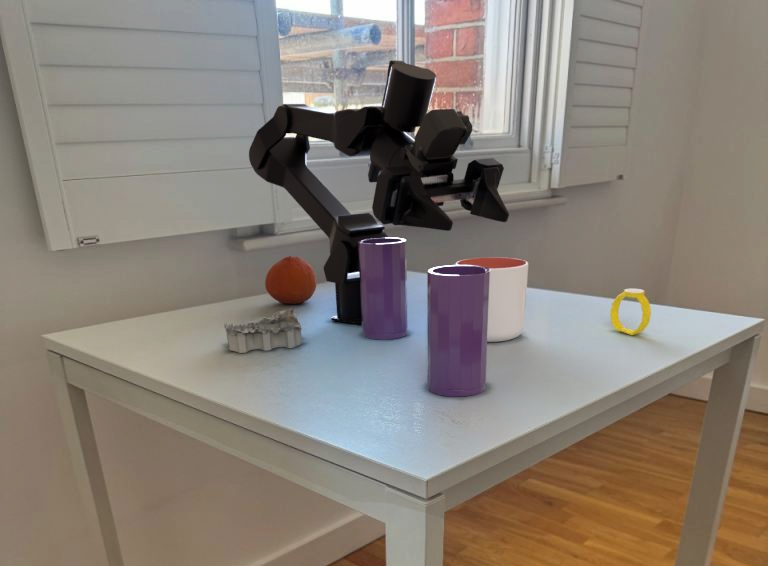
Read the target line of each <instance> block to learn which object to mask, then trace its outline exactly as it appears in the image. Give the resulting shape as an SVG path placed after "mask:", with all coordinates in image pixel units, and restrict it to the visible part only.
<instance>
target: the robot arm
mask: <svg viewBox="0 0 768 566" xmlns="http://www.w3.org/2000/svg"><path fill="white" fill-rule="evenodd" d="M436 80H437V75H436V73H435V72H434V71H433V70H431V69H429V68H423V67H420V66H417V65H414V64H410V63H409V64H408V63H406V62H405V61H403V60H389V62H388V67H387V75H386V82H385V86H384V93H383V97H382V101H381V105H369V106H363V107H361V108H346V109H340V110H331V109H326V108H321V107H314V106H309V105H307V104H306V103H282V104H281V105H278V106H277V108H276V109H275V111H274V114H273V116H272V117H271V118H270V119H269V120H268V121H267V122H265V124H263V126H261V127H260V128H259V129H258V130H257V131H256V133H255V136H254V138H253V141H252V142H251V144H250V147H249V150H248V160H249V164H250V165H251V166H250V167H252V169H253V171H254V172H255V174H256V175H257V176H258V177H260V178H261V179H262V180H264V181H265V182H266V183H269V184H272V185H275V186H277V187H281V188H283V189H284V190H285V191H286V192H287V193H288V194H289V195H290V196H291V197H292V198H293V200H294V201H295V202H296V203H297V204H298V205H299V206H300V208H302V210H303V211H304V212H305V213H306V214H307V215H308V216H309V218H310V219H311V220H312V221H313V222H314V223H315V224H316V225H317V226H318V227H319V228H320V230H321V231H322V232H323V233H324V235H326V237H327V238H328V240H329V256H328V257H327V259H326V262H325V263H324V265H323V272H324V277H325V280H326V282H330V283H334V289H335V301H336V303H335V305H336V315H334V316H332V317H330V318H331V319H330V320H331V321H333V322H341V323H347V324H348V323H349V324H354V325H355V324H357V325H362V318H361V295H360V273H359V251H358V241H360V240H364V239H371V238H389V235H388V234H387V233H386V231H384V230H386V229H385V228H386V227H385V225H393V226H406V227H413V228H415V227H416V228H421V229H431V230H438V231H447V232H450V231H452V228H453V225H454V224H453V223H454V222H453V220H452V219H451V217H450V216H449V215H448V214H447V213H446V212H445V211H444V210H443V209H442V208H441V207H443V206H444V204H445V203H446V202H453V201H460V206H461V207H462V208H463V209H464V210H465V211H469V214H470V215H472V216H476V217H480V218H484V219H488V220H491V221H496V222H501V223H507V222H508V220H509V216H510V213H509V211H508V209H507V207H506V204H505V203H504V201H503V200H502V197H501V195H500V193H499V190H498V189H499V185H500V182H501V180H502V176H503V174H504V173H503V172H504V169H505V167H504V165H503V164H502V163H501V162H500V161H499V160H497V159H496V158H494V157H489V158H477V159H476V158H475V159H473V160H472V161H470V162H468V163H467V167H466V170H465V174H464V178H459V179H455V177H454V176H455V175H454V173H453V170H455V169H456V168H457V164H458V161H459V158H457V157H456V156H454V155H455V153H456V151H458V148H459V146H461V145H466V143H467V141H468V139H469V138H470V136H471V135H472V132H473V124H472V122H471V121H470V116H469V115H467V114H463V112H462V110H459V111H458V110H456V109H455V108H440V109H439V108H437V109H431V110H429V109H430V104H431V100H432V96H433V92H434V88H435V85H436ZM417 128H418V130H417V132H416V134H415V136H414V138H413V137H412V136H410V135H409V134H407V133H414V132H415V131H416V129H417ZM287 134H295V136H293V135H292V136H291V135H287ZM309 138H313V139H317V140H322V141H327V142H330V143H332V144H333V146H334V149H336V150H338V151H339V152H341V153H342V154H344V155H346V156H348V157H360V156H361V157H362V156H363V157H364V156H369V163H368V165H367V166H368V171H367V177H368V182H369V183H376V184H375V189H374V195H373V200H372V205H371V209H372V210H371V211H372V214H371V212H361V213H360V212H359V213H351V212H350V211H349V210H348V209H347V208H346V207H345V206H344V205H343V204H342V202H341V201H340V200H339V199H338V198H337V197H336V196H335V195H334V194H333V193H332V192H331V191H330V189H328V187H327V186H325V184H324V183H323V182H322V181H321V180H320V179H319V178H318V177H317V176H316V174H314V172H313V171H312V170H311V169H310V168H309V166H307V155H308V154H309V152H310V150H311V149H310V148H311V145H310V139H309ZM379 222H380V223H381V224H382V225H381V224H380V223H379Z"/></svg>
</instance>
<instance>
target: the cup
mask: <svg viewBox="0 0 768 566" xmlns="http://www.w3.org/2000/svg"><path fill="white" fill-rule="evenodd" d="M454 265H472V266H481V267H486V268H488V269H490V290H489V315H488V340H487V343H497V342H499V343H500V342H505V341H511V340H513V339H515V338H518V337H519V336H520V335H521V334H522V333H523V331H524V329H525V323H526V310H527V309H526V307H527V294H528V293H527V292H528V278H529V276H528V275H529V262H528V261H526V260H525V259H524V260H523V259H520V258H516V257H515V258H514V257H502V256H501V257H499V256H494V257H491V256H489V257H488V256H487V257H474V258H473V257H472V258H466V259H461V260H458V261H456V262H455V263H454Z"/></svg>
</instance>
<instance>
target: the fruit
mask: <svg viewBox="0 0 768 566" xmlns="http://www.w3.org/2000/svg"><path fill="white" fill-rule="evenodd" d="M264 287H265V290H266V292H267V294H268V295H269V296H270V297H272V299H274V300H275V301H277V302H278V303H281V304H287V305H289V304H290V305H291V304H292V305H296V304H302V303H303V304H304V303H305V302H307V301H309V300H310V299H311V298H312V297H313V295H314V294H315V292H316V288H317V279H316V274H315V271H314V268H313V267H312V266H311V265H310V264H309V262H307V261H305V260H304V259H302V258H301V257H298V256H291V255H288V256H285V257H283V258H282V259H280V260H278V261H277V262H274V264H273V265H272V266H271V267H270V268H269V270H268V271H267V273H266V277H265V281H264Z"/></svg>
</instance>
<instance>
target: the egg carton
mask: <svg viewBox="0 0 768 566" xmlns="http://www.w3.org/2000/svg"><path fill="white" fill-rule="evenodd" d="M224 329H225V332H226V339H227V340H226V341H227V345H228V348H229V351H231V352H235V353H239V354H246V353H248V352H250V351H253V350H262V351H265V352H268V351H271V350H273V349H275V348H287V349H294V348H296V347H298V346H302V344H303V338H302V329H303V327H302V325H301V323H300V322H299V320H298V317H297V315H296V312H294V309H293V308H291V309H283V310H279V311H276V312H273V314H272V316H271V317H266V316H265V317H264V316H263V317H262V318H261V319H259V320H255V321H251V320H250V321H246V322H241V323H240V324H235V325H233V323H231V324H227V323H224Z"/></svg>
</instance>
